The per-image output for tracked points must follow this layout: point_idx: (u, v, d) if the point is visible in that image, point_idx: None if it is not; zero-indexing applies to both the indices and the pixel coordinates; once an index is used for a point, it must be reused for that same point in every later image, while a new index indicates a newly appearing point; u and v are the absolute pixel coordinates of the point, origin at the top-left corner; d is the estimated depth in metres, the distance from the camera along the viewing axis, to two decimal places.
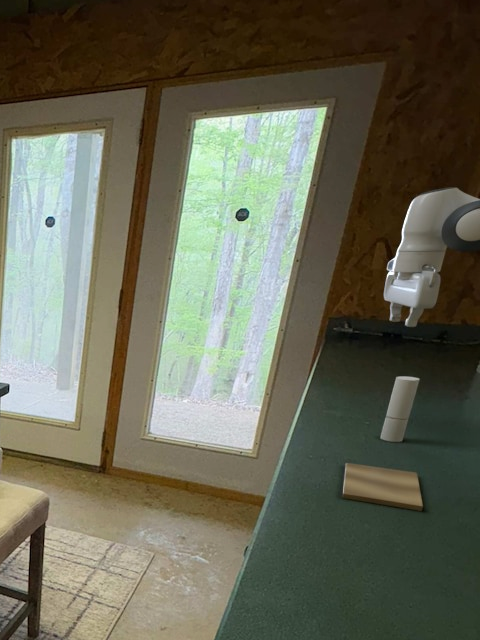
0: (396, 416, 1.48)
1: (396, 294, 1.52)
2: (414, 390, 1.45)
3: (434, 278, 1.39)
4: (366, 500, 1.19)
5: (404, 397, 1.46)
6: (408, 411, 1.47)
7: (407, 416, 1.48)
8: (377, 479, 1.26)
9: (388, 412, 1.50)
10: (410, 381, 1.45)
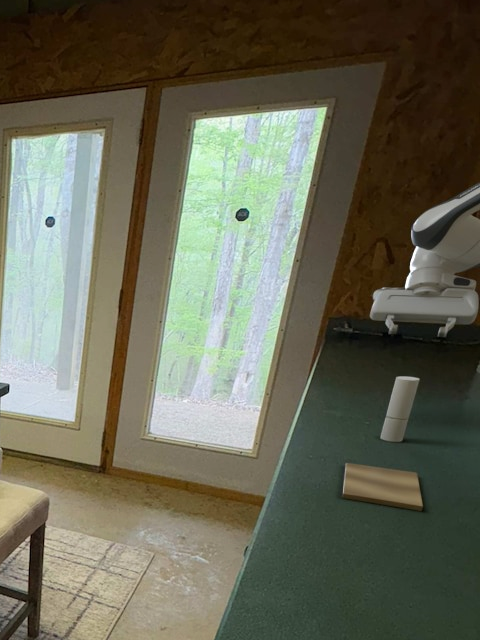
0: (396, 416, 1.48)
1: None
2: (414, 390, 1.45)
3: (373, 295, 1.61)
4: (366, 500, 1.19)
5: (404, 397, 1.46)
6: (408, 411, 1.47)
7: (407, 416, 1.48)
8: (377, 479, 1.26)
9: (388, 412, 1.50)
10: (410, 381, 1.45)
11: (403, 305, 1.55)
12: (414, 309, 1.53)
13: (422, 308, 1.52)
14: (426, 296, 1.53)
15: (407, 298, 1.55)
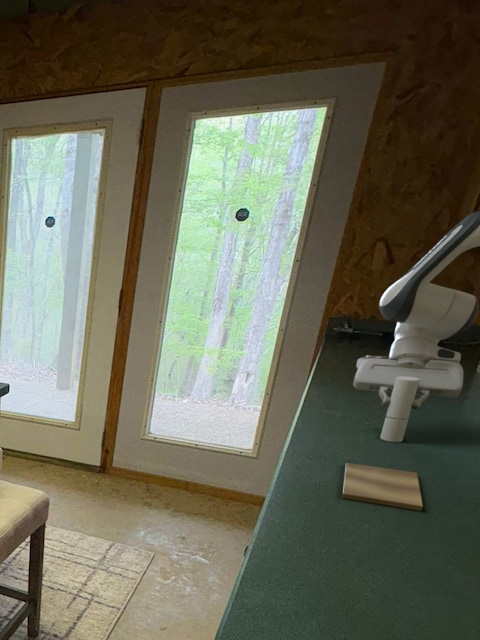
0: (396, 416, 1.48)
1: None
2: (414, 390, 1.45)
3: (357, 363, 1.57)
4: (366, 500, 1.19)
5: (404, 397, 1.46)
6: (408, 411, 1.47)
7: (407, 416, 1.48)
8: (377, 479, 1.26)
9: (388, 412, 1.50)
10: (410, 381, 1.45)
11: (386, 376, 1.51)
12: None
13: None
14: (410, 367, 1.49)
15: (391, 368, 1.51)
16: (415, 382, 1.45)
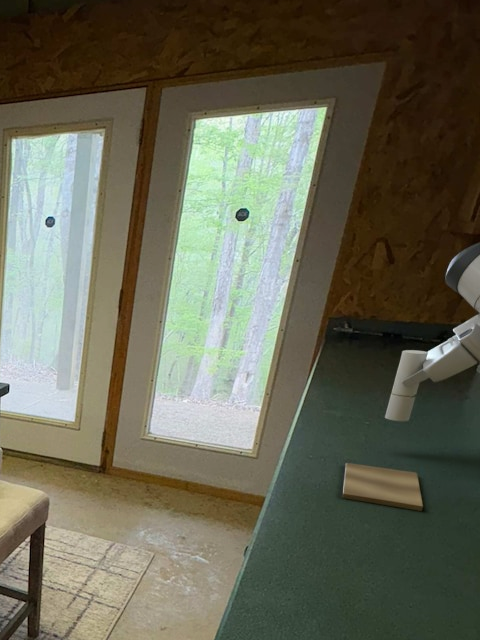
0: (392, 390, 1.40)
1: None
2: (405, 364, 1.35)
3: None
4: (366, 500, 1.19)
5: (397, 370, 1.38)
6: (397, 386, 1.37)
7: (397, 392, 1.38)
8: (377, 479, 1.26)
9: None
10: (402, 352, 1.36)
11: (433, 352, 1.36)
12: None
13: (429, 357, 1.34)
14: (450, 346, 1.31)
15: (447, 346, 1.34)
16: (405, 354, 1.35)
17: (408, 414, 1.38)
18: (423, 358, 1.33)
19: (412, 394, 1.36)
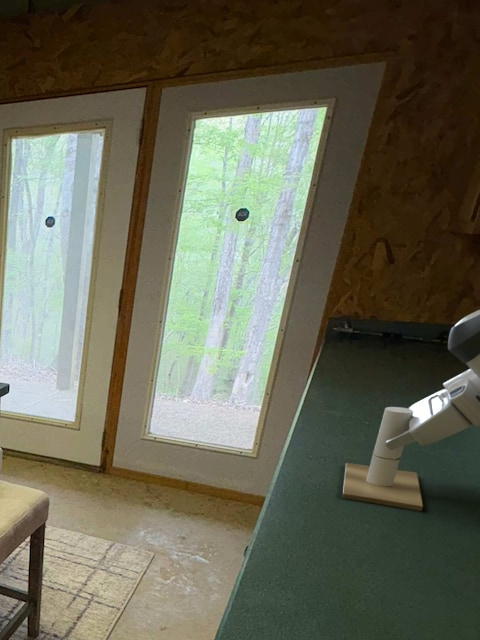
0: None
1: None
2: (387, 423, 1.20)
3: None
4: (366, 500, 1.19)
5: None
6: (380, 447, 1.22)
7: (380, 454, 1.22)
8: None
9: None
10: (385, 410, 1.21)
11: (420, 406, 1.20)
12: (413, 413, 1.20)
13: (416, 413, 1.18)
14: (440, 402, 1.15)
15: (436, 400, 1.18)
16: (388, 413, 1.20)
17: (392, 478, 1.23)
18: (408, 418, 1.18)
19: (396, 457, 1.21)
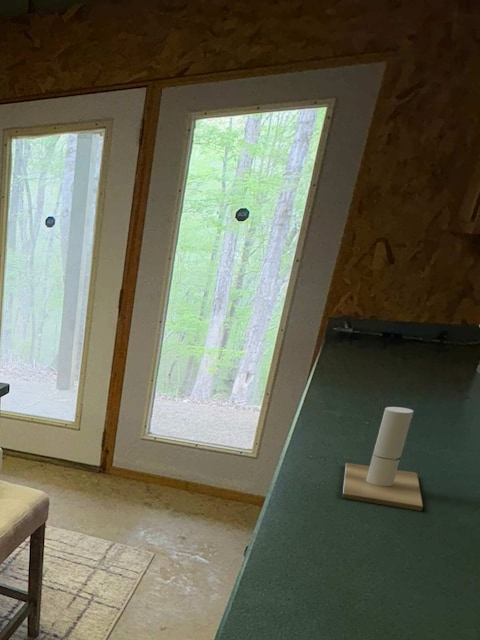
0: None
1: None
2: (387, 423, 1.20)
3: None
4: (366, 500, 1.19)
5: None
6: (380, 447, 1.22)
7: (380, 454, 1.22)
8: None
9: None
10: (385, 410, 1.21)
11: None
12: None
13: None
14: None
15: None
16: (388, 413, 1.20)
17: (392, 478, 1.23)
18: (408, 418, 1.18)
19: (396, 457, 1.21)
